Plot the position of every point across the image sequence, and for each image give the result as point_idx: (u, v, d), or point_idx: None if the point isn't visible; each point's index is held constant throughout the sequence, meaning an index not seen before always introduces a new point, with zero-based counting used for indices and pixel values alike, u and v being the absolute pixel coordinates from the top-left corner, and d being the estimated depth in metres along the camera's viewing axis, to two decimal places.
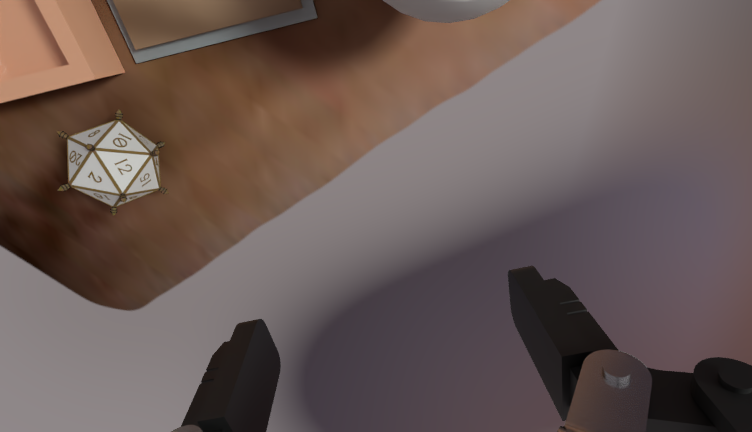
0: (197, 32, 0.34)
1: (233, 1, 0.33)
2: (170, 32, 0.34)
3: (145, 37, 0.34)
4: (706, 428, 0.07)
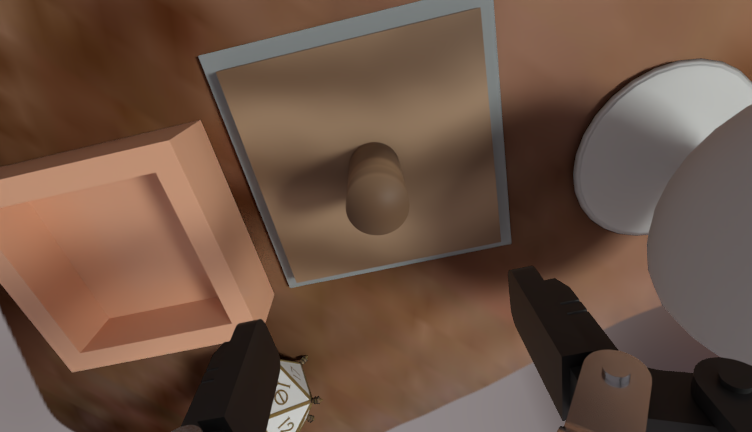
0: (373, 266, 0.29)
1: (422, 237, 0.28)
2: (341, 266, 0.29)
3: (310, 271, 0.29)
4: (706, 428, 0.07)
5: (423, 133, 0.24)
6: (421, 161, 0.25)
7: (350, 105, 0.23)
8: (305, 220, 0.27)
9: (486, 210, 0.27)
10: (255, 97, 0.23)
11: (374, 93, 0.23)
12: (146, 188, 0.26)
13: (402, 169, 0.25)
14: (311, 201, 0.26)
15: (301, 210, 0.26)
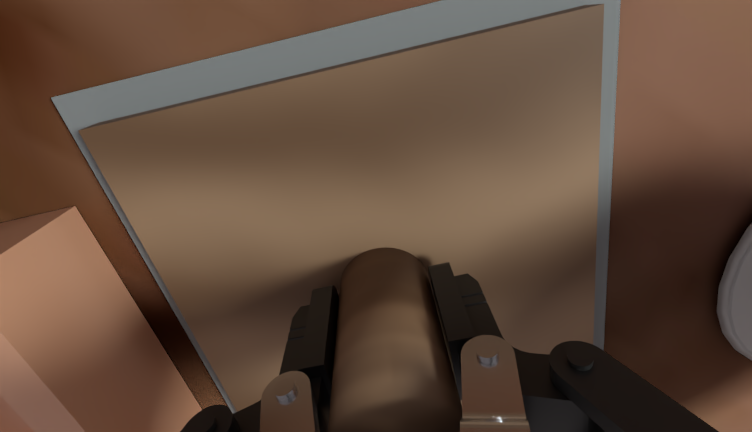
0: None
1: None
2: None
3: None
4: (554, 401, 0.08)
5: (474, 233, 0.13)
6: None
7: (341, 187, 0.13)
8: (267, 365, 0.16)
9: None
10: (161, 175, 0.12)
11: (386, 166, 0.12)
12: None
13: None
14: (276, 338, 0.15)
15: (259, 351, 0.15)
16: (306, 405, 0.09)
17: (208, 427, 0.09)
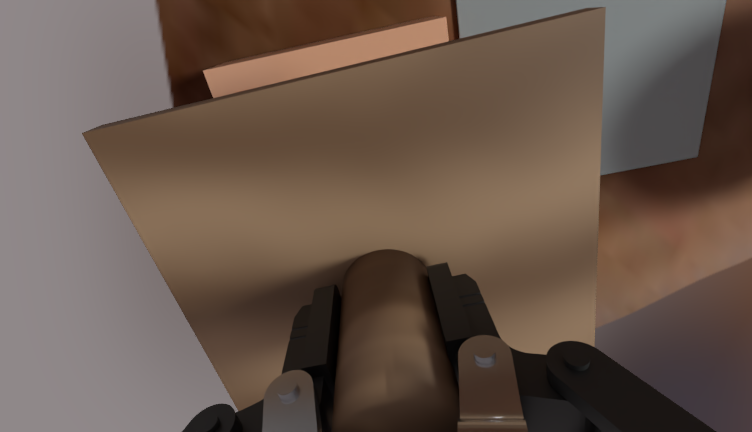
0: None
1: None
2: None
3: None
4: (551, 401, 0.08)
5: (476, 234, 0.13)
6: None
7: (343, 189, 0.13)
8: (269, 366, 0.16)
9: None
10: (164, 177, 0.12)
11: (388, 169, 0.12)
12: None
13: None
14: (279, 339, 0.15)
15: (261, 353, 0.16)
16: (309, 404, 0.09)
17: (211, 426, 0.09)
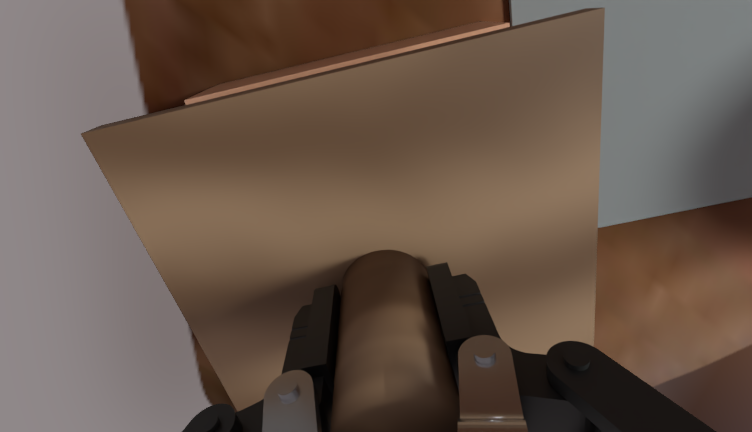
0: None
1: None
2: None
3: None
4: (551, 401, 0.08)
5: (475, 235, 0.13)
6: None
7: (342, 190, 0.13)
8: (268, 366, 0.16)
9: None
10: (163, 178, 0.12)
11: (387, 169, 0.12)
12: None
13: None
14: (278, 340, 0.15)
15: (261, 353, 0.16)
16: (309, 404, 0.09)
17: (211, 426, 0.09)
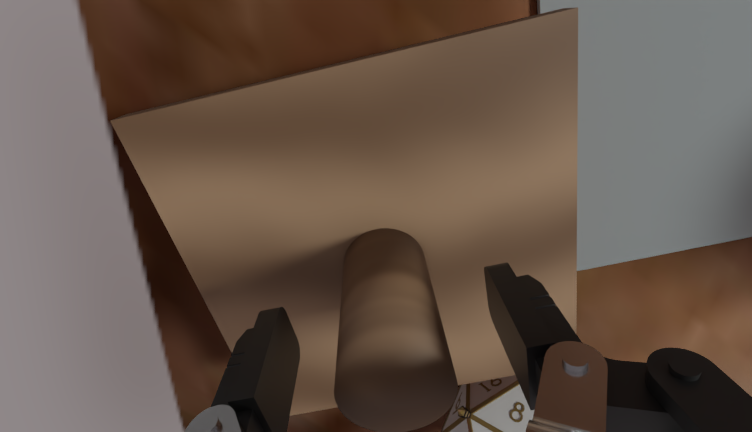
0: None
1: (457, 359, 0.18)
2: (333, 398, 0.19)
3: None
4: (656, 414, 0.08)
5: (465, 214, 0.15)
6: (460, 256, 0.16)
7: (345, 173, 0.14)
8: None
9: None
10: (183, 161, 0.14)
11: (385, 153, 0.14)
12: None
13: (429, 267, 0.16)
14: None
15: None
16: None
17: None
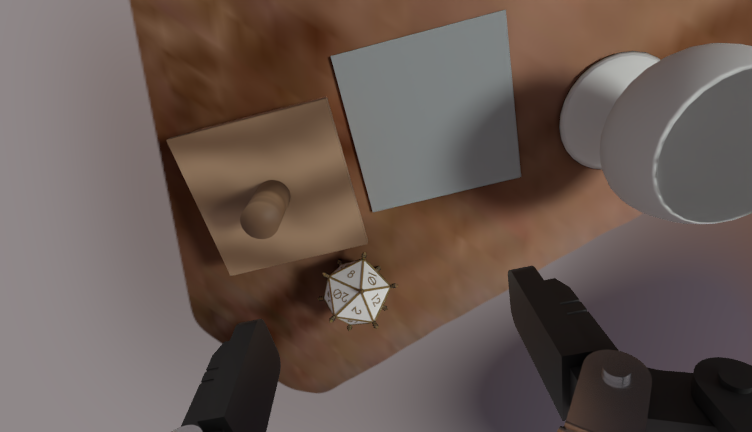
0: (282, 262, 0.42)
1: (313, 241, 0.41)
2: (260, 263, 0.42)
3: (239, 267, 0.42)
4: (706, 428, 0.07)
5: (302, 173, 0.38)
6: (304, 191, 0.38)
7: (253, 157, 0.37)
8: (232, 232, 0.40)
9: (353, 222, 0.40)
10: (192, 154, 0.36)
11: (267, 150, 0.37)
12: None
13: (292, 196, 0.39)
14: (235, 219, 0.39)
15: (228, 225, 0.40)
16: None
17: None
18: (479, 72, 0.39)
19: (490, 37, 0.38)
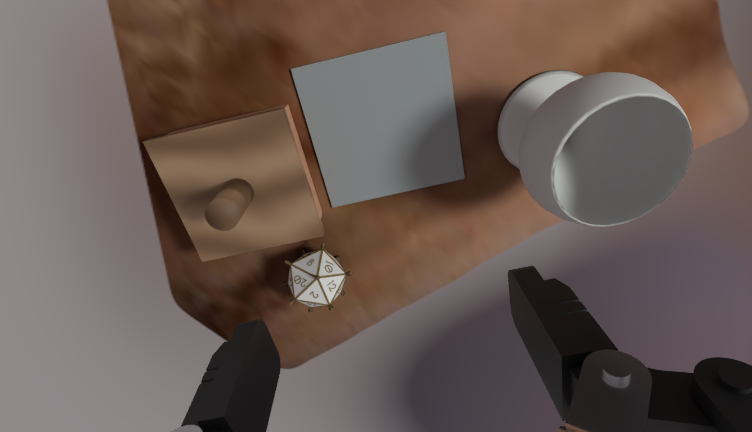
0: (248, 251, 0.47)
1: (275, 233, 0.46)
2: (228, 251, 0.47)
3: (210, 254, 0.47)
4: (706, 428, 0.07)
5: (264, 173, 0.43)
6: (266, 189, 0.44)
7: (219, 158, 0.42)
8: (202, 223, 0.45)
9: (310, 217, 0.45)
10: (165, 154, 0.41)
11: (232, 152, 0.42)
12: None
13: (255, 193, 0.44)
14: (205, 212, 0.45)
15: (199, 217, 0.45)
16: None
17: None
18: (424, 85, 0.44)
19: (432, 55, 0.43)
